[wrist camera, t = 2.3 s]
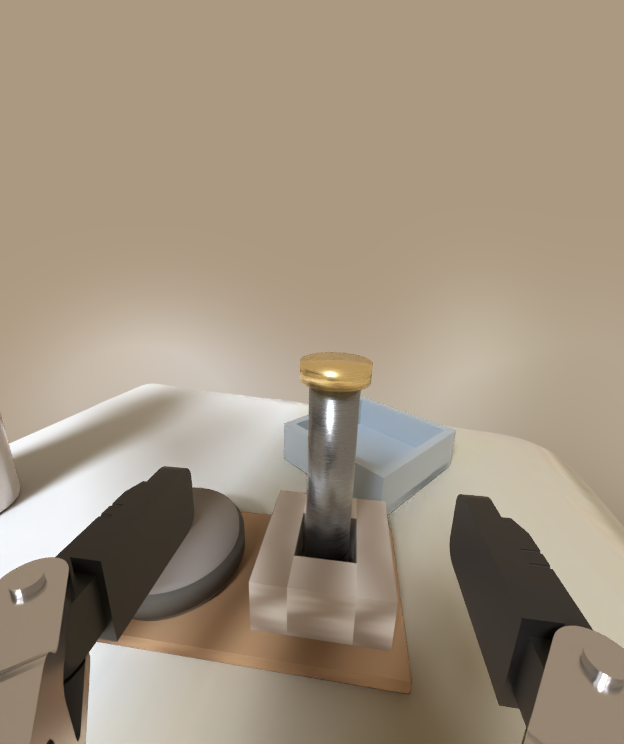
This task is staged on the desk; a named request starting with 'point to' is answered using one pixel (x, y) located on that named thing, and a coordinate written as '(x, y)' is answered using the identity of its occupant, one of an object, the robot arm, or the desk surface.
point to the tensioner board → (269, 650)
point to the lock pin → (332, 448)
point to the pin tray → (384, 452)
